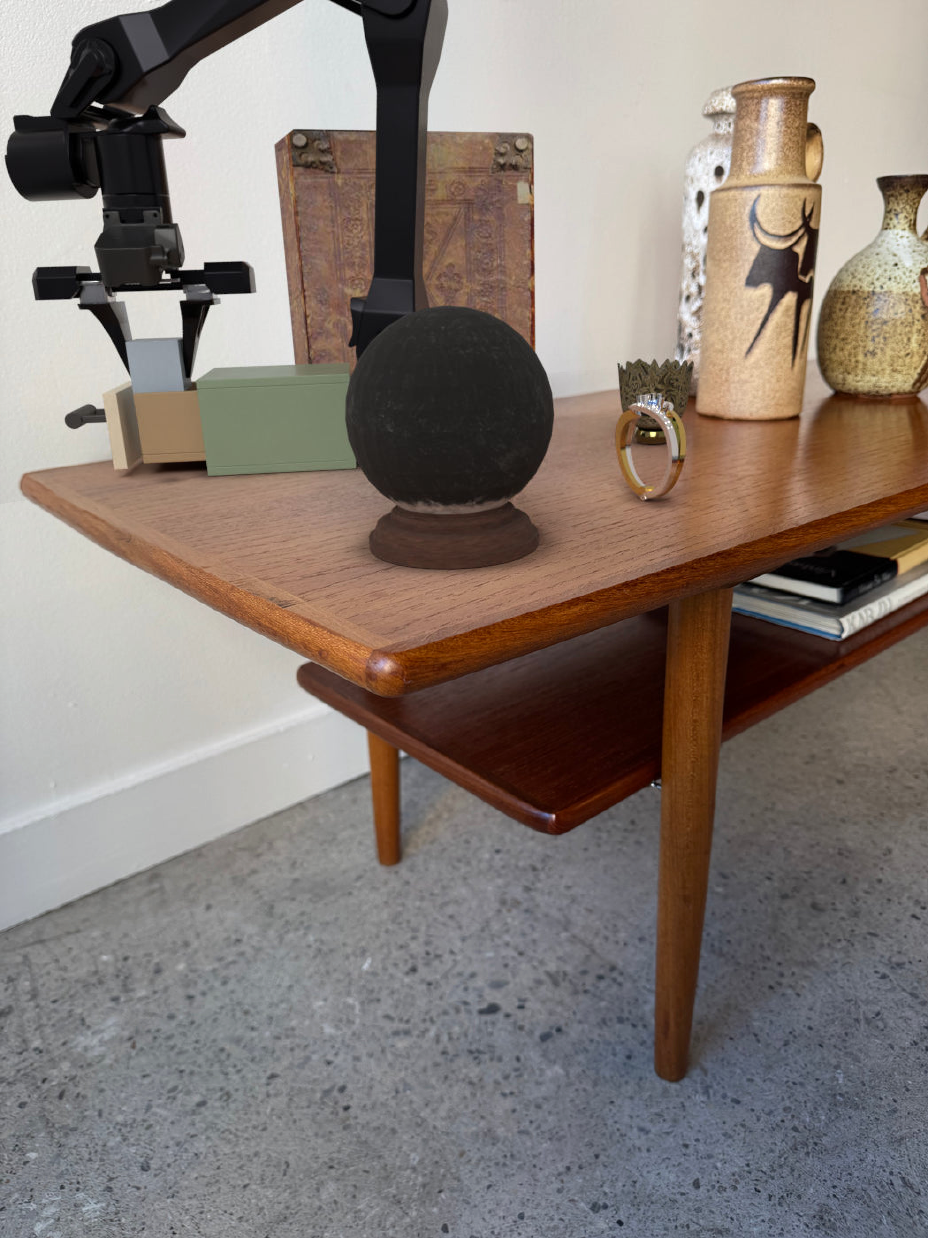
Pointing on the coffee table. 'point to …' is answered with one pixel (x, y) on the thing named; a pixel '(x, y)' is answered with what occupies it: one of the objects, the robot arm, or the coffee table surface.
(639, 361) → the cup
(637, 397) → the ring
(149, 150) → the robot arm
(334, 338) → the book
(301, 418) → the cabinet
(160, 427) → the drawer
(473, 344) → the black ball on stand
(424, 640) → the coffee table surface
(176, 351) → the block
